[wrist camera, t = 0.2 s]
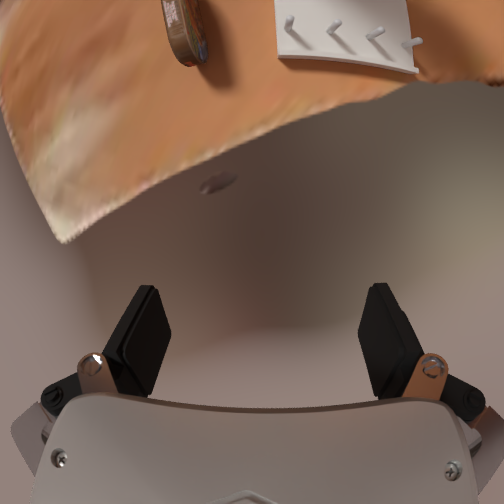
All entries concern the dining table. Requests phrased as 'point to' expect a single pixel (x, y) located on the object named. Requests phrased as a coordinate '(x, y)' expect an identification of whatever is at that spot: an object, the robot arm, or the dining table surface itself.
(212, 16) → the dining table surface
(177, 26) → the tin
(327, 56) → the dish rack
